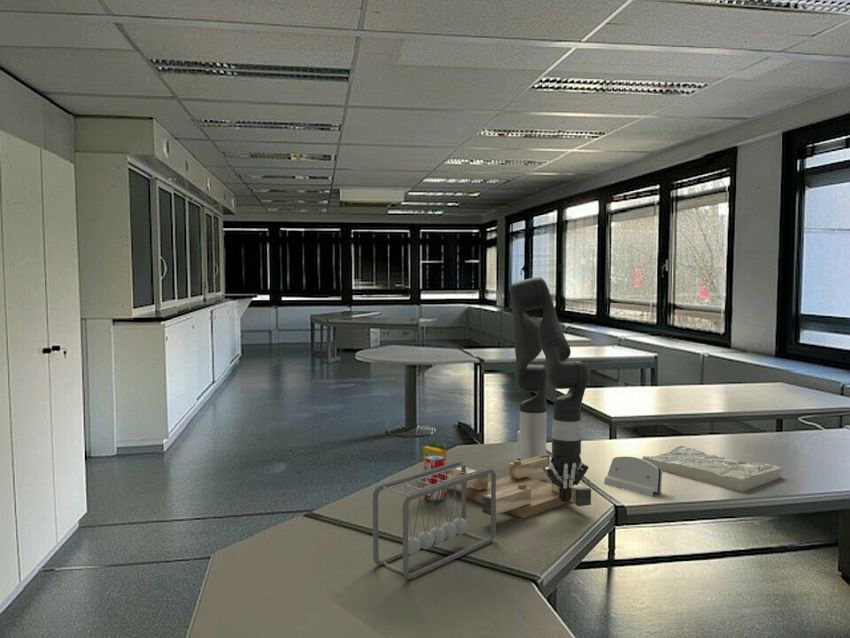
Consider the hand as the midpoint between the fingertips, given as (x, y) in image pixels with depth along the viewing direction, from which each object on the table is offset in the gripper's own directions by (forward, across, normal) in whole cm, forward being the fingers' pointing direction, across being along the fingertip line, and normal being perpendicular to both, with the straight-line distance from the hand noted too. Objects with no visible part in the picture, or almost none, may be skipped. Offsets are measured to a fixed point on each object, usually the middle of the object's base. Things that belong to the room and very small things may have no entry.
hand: (565, 501), depth 167 cm
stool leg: (+1, +4, +5) cm, 6 cm away
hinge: (+3, +32, +13) cm, 34 cm away
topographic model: (+3, +65, +18) cm, 68 cm away
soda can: (+4, -28, +24) cm, 37 cm away
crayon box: (+4, -22, +41) cm, 47 cm away
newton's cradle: (+5, -40, -12) cm, 42 cm away
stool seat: (+3, -7, +20) cm, 21 cm away
